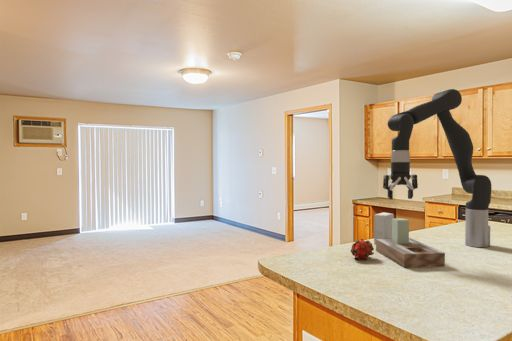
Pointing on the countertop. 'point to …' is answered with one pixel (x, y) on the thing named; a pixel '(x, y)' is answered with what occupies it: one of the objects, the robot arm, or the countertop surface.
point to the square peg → (400, 231)
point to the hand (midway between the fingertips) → (400, 198)
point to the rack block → (411, 253)
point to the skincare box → (383, 226)
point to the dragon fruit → (362, 249)
